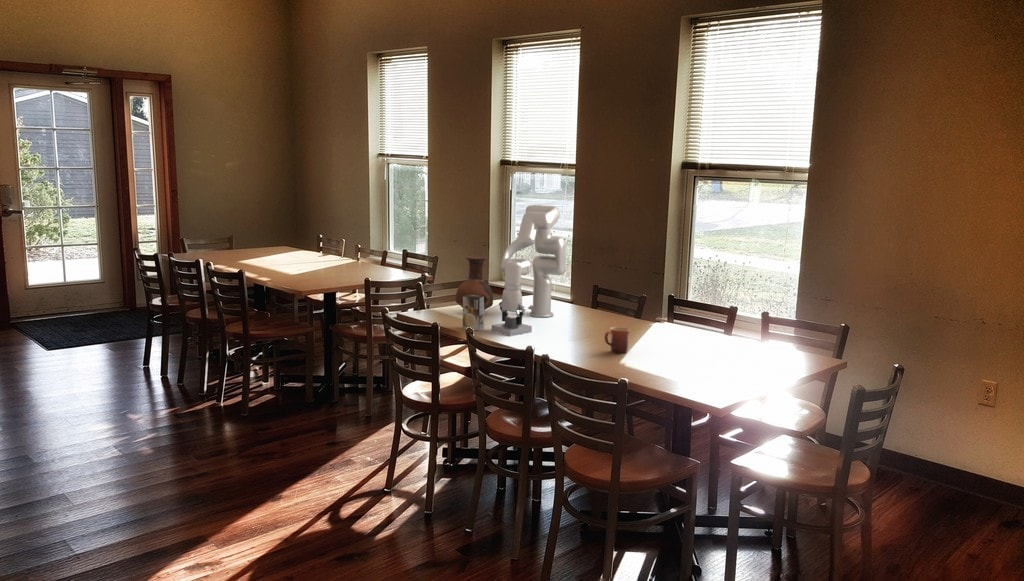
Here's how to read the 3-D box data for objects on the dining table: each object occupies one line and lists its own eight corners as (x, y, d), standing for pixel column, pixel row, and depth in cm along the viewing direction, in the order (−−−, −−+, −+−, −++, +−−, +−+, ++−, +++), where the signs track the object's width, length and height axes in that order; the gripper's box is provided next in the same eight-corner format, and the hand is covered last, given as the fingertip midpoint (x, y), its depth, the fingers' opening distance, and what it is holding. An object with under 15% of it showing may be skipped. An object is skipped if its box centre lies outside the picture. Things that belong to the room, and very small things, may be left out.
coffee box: (484, 328, 382) (485, 295, 380) (479, 331, 377) (480, 297, 374) (467, 326, 386) (468, 294, 383) (461, 329, 380) (462, 296, 377)
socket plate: (491, 331, 377) (491, 323, 377) (512, 327, 387) (512, 320, 386) (510, 336, 368) (510, 328, 367) (531, 332, 378) (531, 324, 377)
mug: (621, 348, 350) (622, 326, 348) (633, 353, 342) (634, 330, 340) (598, 351, 344) (599, 328, 342) (610, 356, 337) (611, 332, 335)
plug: (504, 331, 378) (505, 316, 376) (511, 330, 381) (512, 315, 379) (511, 333, 374) (511, 317, 373) (518, 332, 377) (518, 316, 376)
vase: (504, 315, 414) (505, 258, 409) (474, 320, 401) (475, 261, 396) (473, 308, 432) (474, 253, 427) (444, 312, 419) (445, 255, 414)
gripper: (494, 285, 377) (493, 320, 380) (519, 290, 365) (518, 327, 368) (505, 284, 382) (505, 318, 385) (531, 289, 370) (530, 325, 373)
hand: (511, 322), depth 377 cm, fingers open, 9 cm apart
